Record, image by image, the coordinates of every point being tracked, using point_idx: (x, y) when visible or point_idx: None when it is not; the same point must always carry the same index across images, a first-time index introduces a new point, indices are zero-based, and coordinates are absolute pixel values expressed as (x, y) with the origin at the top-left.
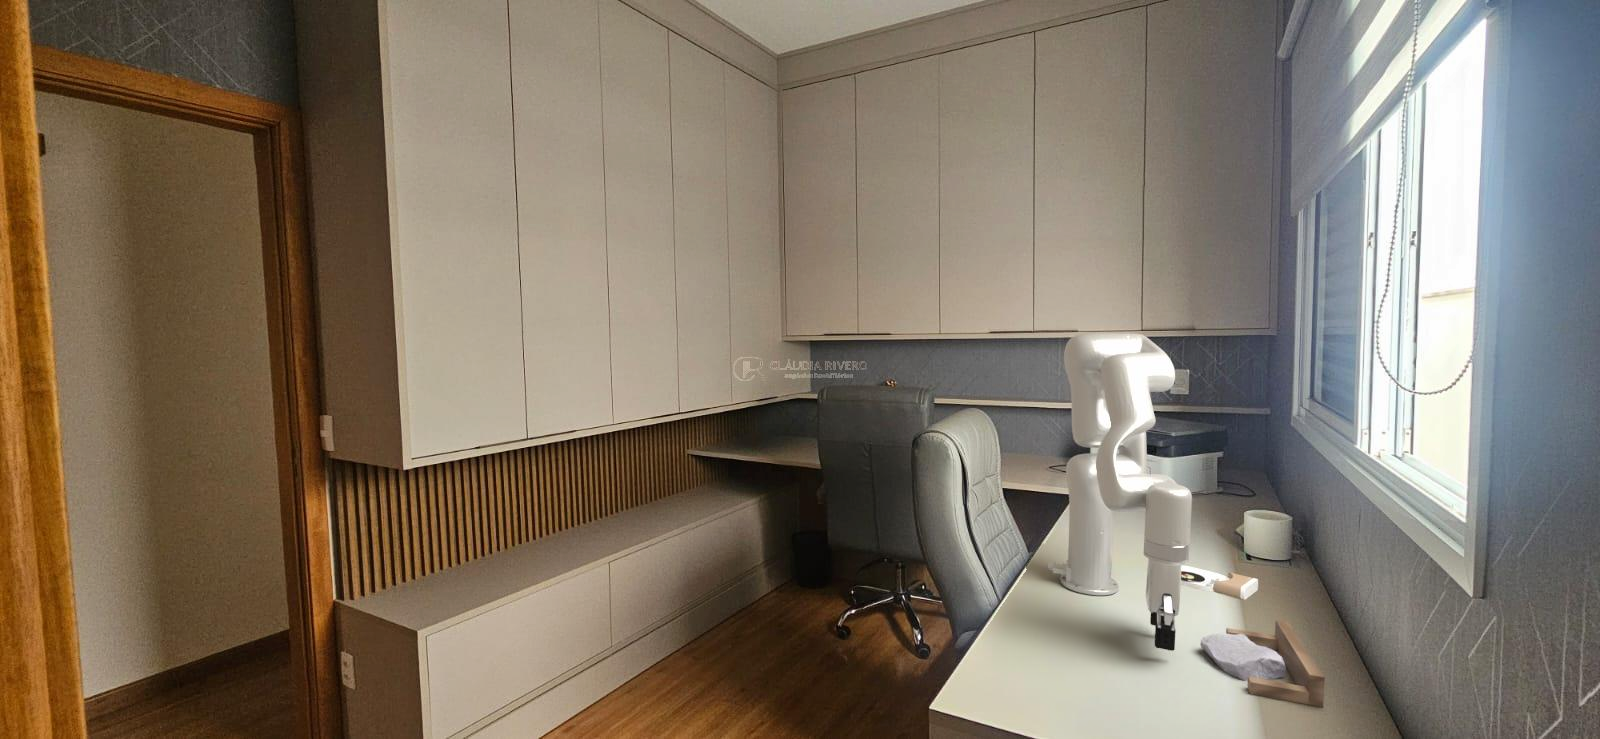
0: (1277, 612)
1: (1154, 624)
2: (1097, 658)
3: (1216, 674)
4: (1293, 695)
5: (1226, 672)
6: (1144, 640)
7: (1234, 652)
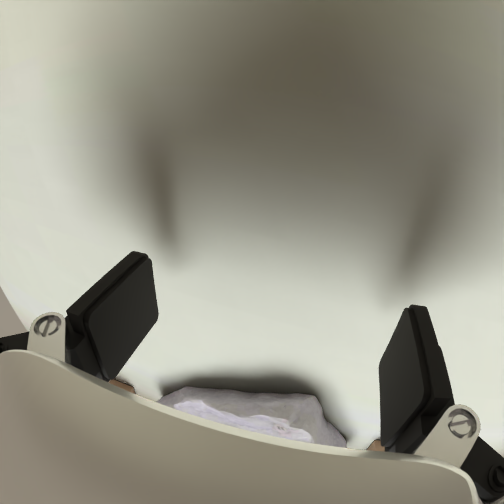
0: None
1: (401, 320)
2: (102, 14)
3: (161, 364)
4: None
5: (183, 387)
6: (361, 228)
7: None
